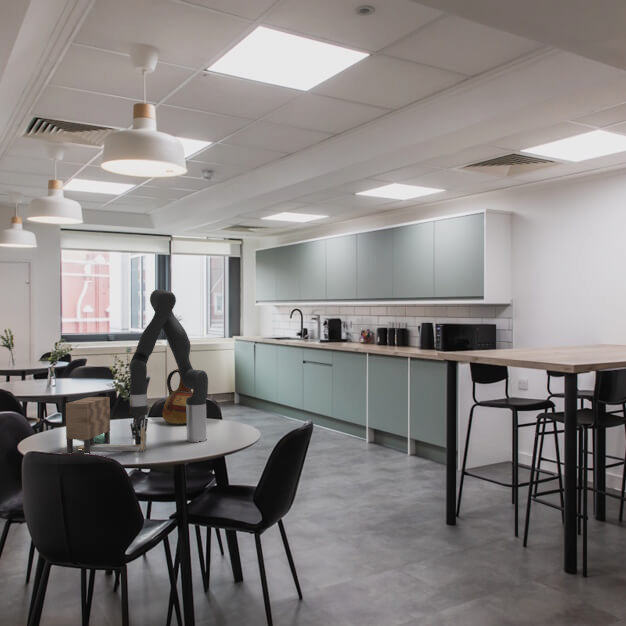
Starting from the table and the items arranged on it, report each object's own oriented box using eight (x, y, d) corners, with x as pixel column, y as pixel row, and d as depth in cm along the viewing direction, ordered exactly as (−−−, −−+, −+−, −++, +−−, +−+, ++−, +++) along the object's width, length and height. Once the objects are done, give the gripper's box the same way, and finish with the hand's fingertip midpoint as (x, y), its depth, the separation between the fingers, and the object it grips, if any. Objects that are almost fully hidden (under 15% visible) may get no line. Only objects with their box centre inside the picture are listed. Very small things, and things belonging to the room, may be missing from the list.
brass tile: (83, 448, 280) (83, 445, 280) (93, 449, 280) (93, 445, 280) (77, 451, 275) (77, 447, 275) (87, 451, 275) (87, 448, 275)
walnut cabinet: (90, 444, 288) (89, 396, 288) (110, 444, 287) (109, 397, 286) (66, 454, 268) (65, 403, 268) (88, 454, 267) (87, 403, 267)
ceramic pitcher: (194, 426, 329) (193, 370, 329) (157, 426, 331) (156, 370, 331) (203, 420, 349) (203, 366, 349) (168, 420, 350) (167, 367, 350)
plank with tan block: (93, 448, 279) (92, 426, 279) (145, 449, 276) (145, 426, 276) (87, 450, 275) (87, 428, 274) (140, 451, 271) (140, 428, 271)
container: (108, 431, 288) (84, 424, 306) (97, 438, 284) (73, 430, 302) (113, 442, 290) (89, 434, 308) (102, 449, 286) (78, 440, 304)
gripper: (140, 406, 266) (141, 447, 266) (153, 401, 280) (154, 440, 280) (123, 406, 267) (124, 447, 267) (137, 402, 281) (138, 440, 281)
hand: (139, 443), depth 274 cm, fingers closed on plank with tan block, 3 cm apart
